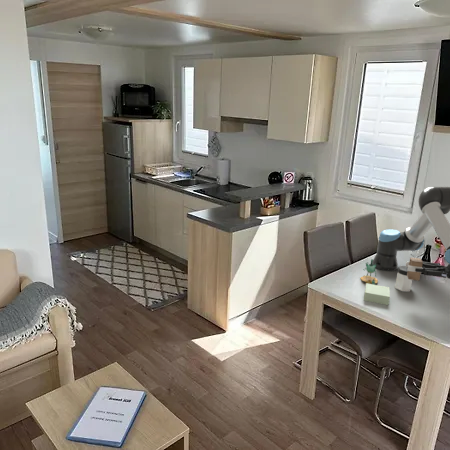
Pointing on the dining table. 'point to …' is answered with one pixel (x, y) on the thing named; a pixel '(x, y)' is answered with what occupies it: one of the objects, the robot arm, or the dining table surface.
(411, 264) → the walnut block
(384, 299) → the sage block
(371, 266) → the green insect figurine
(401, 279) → the jar
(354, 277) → the dining table surface
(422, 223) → the robot arm
